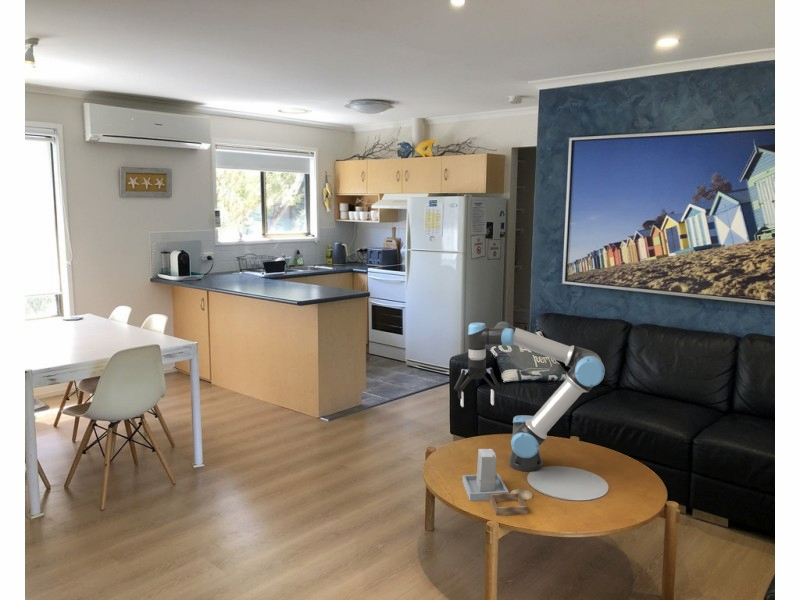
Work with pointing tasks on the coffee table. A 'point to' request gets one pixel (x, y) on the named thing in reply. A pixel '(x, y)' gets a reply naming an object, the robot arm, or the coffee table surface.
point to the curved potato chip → (523, 493)
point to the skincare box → (486, 470)
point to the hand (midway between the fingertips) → (477, 405)
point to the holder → (508, 510)
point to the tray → (475, 493)
